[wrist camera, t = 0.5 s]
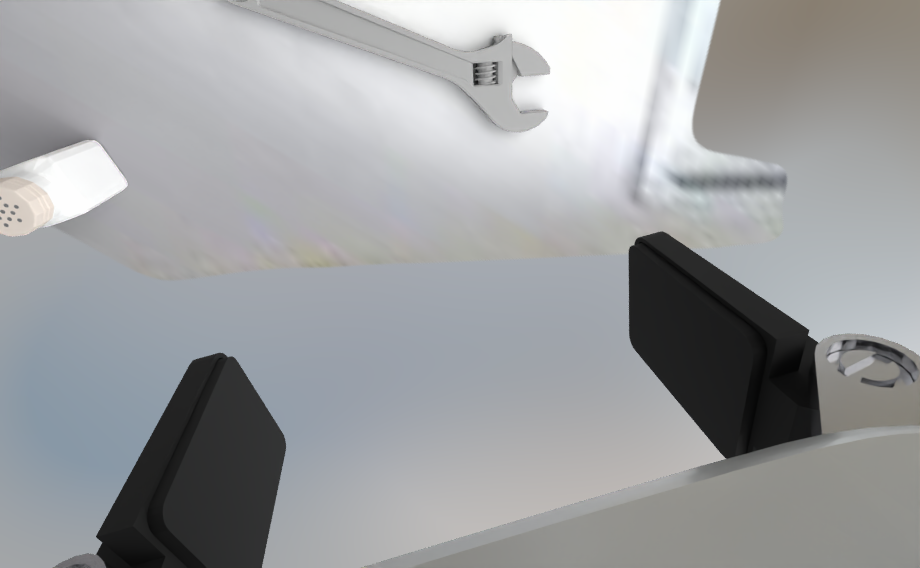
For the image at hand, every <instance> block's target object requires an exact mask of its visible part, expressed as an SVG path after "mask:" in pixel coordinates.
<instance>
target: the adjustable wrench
mask: <svg viewBox="0 0 920 568" xmlns="http://www.w3.org/2000/svg"><path fill="white" fill-rule="evenodd" d="M227 1H229V2H230V3H232V4H234V5H237V6H240V7H243V8H246V9H249V10H251V11H254V12H257V13H260V14H263V15H266V16H268V17H271V18H274V19H277V20H280V21H283V22H286V23H288V24H291V25H294V26H297V27H300V28H303V29H306V30H308V31H311V32H314V33H317V34H320V35H323V36H325V37H328V38H331V39H334V40H337V41H340V42H343V43H345V44H348V45H351V46H354V47H357V48H360V49H363V50H365V51H368V52H371V53H374V54H377V55H380V56H382V57H385V58H388V59H391V60H394V61H397V62H400V63H402V64H405V65H408V66H411V67H414V68H417V69H420V70H422V71H425V72H428V73H431V74H434V75H437V76H439V77H442V78H445V79H447V80H449V81H451V82H453V83H454V84H456V85H457V86H458V87H460V88H461V89H462V90H463V91H464V92H465V93H466V94H467V95H468V96H470V97H471V98H472V99H473V100H474V101H475V102H476V103H477V105H478V106H479V107H480V108H481V109H482V110H483V112H484V113H485V114H486V115H487V116H488V117H489V119H490V120H491V121H492V122H493V123H494V124H496V125H497V126H499V127H500V128H502V129H504V130H506V131H509V132H524V131H528V130H530V129H533V128H535V127H537V126H538V125H539V124H541V123H542V122H543V121H544V120H545V119H546V117H547V115H548V111H545V110H533V111H523V112H520V111H519V109H518V108H517V106H516V104H515V102H514V101H513V99H512V83H513V81H514V79H515V78H516V76H517V75H518V76H535V75H547V74H550V67H549V65H548V64H547V62H546V61H545V59H544V58H543V57H542V56H541V55H540V54H539V53H538V52H537V51H535V50H534V49H532V48H531V47H528V46H526V45H524V44H521V43H518V42H515V41H512V34H508V35H504V36H494V45H492V46H489V47H486V48H483V49H480V50H477V51H471V52H465V51H460V50H456V49H453V48H450V47H448V46H445V45H443V44H441V43H438V42H436V41H433V40H431V39H428V38H426V37H424V36H421V35H419V34H416V33H414V32H412V31H409V30H407V29H404V28H402V27H400V26H397V25H395V24H392V23H390V22H387V21H385V20H383V19H380V18H378V17H375V16H373V15H371V14H368V13H366V12H363V11H361V10H359V9H356V8H354V7H351V6H349V5H346V4H344V3H342V2H339V1H337V0H227ZM493 62H494V63H493ZM473 63H478V67H476V68H474V69H476V70H478V73H474V75H478V78H476V79H474V80H476V81H478V84H475V85H474V83H473ZM493 67H494V69H493ZM493 72H494V74H493ZM493 78H494V80H493Z"/></svg>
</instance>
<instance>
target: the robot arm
mask: <svg viewBox="0 0 920 568" xmlns="http://www.w3.org/2000/svg"><path fill="white" fill-rule="evenodd" d="M808 333H809V330H808V329H807V328H805V327H804V326H802V325H801V324H800V323H798V322H796V321H795V320H793V319H792V318H791V317H789V316H788V315H786V314H785V313H783V312H782V311H780V310H779V309H777V308H776V307H774V306H773V305H771V304H770V303H769V302H767V301H765V300H764V299H763V298H761V297H760V296H758V295H756V294H755V293H754V292H752V291H751V290H749V289H748V288H746V287H745V286H744V285H742V284H740V283H739V282H738V281H736V280H735V279H733V278H732V277H730V276H729V275H727V274H726V273H724V272H723V271H721V270H720V269H718V268H717V267H715V266H714V265H713V264H711V263H710V262H708V261H707V260H705V259H704V258H702V257H701V256H699V255H698V254H696V253H695V252H693V251H692V250H690V249H689V248H688V247H686V246H685V245H683V244H682V243H680V242H679V241H677V240H676V239H674V238H673V237H671V236H670V235H668V234H667V233H665V232H657V233H654V234H650V235H646V236H643V237H639V238H637V239H636V241H635V245H633V246H631V247H630V249H629V336H630V341H631V344H632V346H633V348H634V349H635V351H636V352H637V353H638V354H639V355H640V357H641V358H642V359H643V360H644V361H645V363H646V364H647V365H648V366H649V367H650V369H651V370H652V371H653V372H654V373H655V375H656V376H657V377H658V378H659V379H660V381H661V382H662V383H663V384H664V385H665V387H666V388H667V389H668V390H669V391H670V393H671V394H672V395H673V396H674V397H675V399H676V400H677V401H678V402H679V403H680V404H681V406H682V407H683V408H684V409H685V411H686V412H687V413H688V414H689V415H690V417H691V418H692V419H693V420H694V421H695V423H696V424H697V425H698V426H699V427H700V429H701V430H702V431H703V432H704V433H705V435H706V436H707V437H708V438H709V439H710V441H711V442H712V443H713V444H714V446H715V447H716V448H717V449H718V450H719V452H720V453H721V454H722V455H723V456H724V457H725V458H726V459H725V460H721V461H718V462H714V463H711V464H707V465H703V466H700V467H697V468H693V469H689V470H686V471H683V472H679V473H676V474H673V475H669V476H666V477H663V478H659V479H656V480H652V481H649V482H645V483H642V484H639V485H635V486H632V487H628V488H625V489H622V490H618V491H615V492H611V493H608V494H605V495H602V496H598V497H595V498H591V499H588V500H584V501H581V502H578V503H574V504H571V505H568V506H564V507H561V508H558V509H554V510H551V511H548V512H544V513H541V514H538V515H534V516H531V517H527V518H524V519H521V520H517V521H514V522H511V523H507V524H504V525H501V526H498V527H494V528H491V529H487V530H484V531H481V532H478V533H474V534H471V535H468V536H464V537H461V538H458V539H454V540H451V541H448V542H444V543H441V544H438V545H435V546H431V547H428V548H424V549H421V550H418V551H415V552H411V553H408V554H405V555H401V556H399V557H395V558H392V559H388V560H385V561H382V562H379V563H376V564H372V565H369V566H365V567H362V568H920V356H918V355H917V354H916V353H915V352H913V351H911V350H909V349H908V348H906V347H904V346H902V345H900V344H898V343H895V342H891V341H889V340H886V339H883V338H879V337H874V336H869V335H864V334H841V335H833V336H830V337H828V338H825V339H823V340H822V341H821V342H820V343H818V342H817V341H815V340H814V339H812V338H811V337H809V336H808ZM285 451H286V443H285V438H284V435H283V433H282V431H281V430H280V428H279V427H278V425H277V423H276V422H275V420H274V419H273V417H272V416H271V414H270V412H269V411H268V409H267V408H266V406H265V404H264V403H263V401H262V400H261V398H260V396H259V395H258V393H257V392H256V390H255V389H254V387H253V385H252V384H251V382H250V381H249V379H248V377H247V376H246V374H245V373H244V371H243V369H242V368H241V367H240V365H239V363H238V362H237V360H236V359H235V358H234V357H227V356H226V355H225V354H223V353H217V354H213V355H210V356H206V357H203V358H199V359H196V360H193V361H192V363H191V364H190V365H189V367H188V369H187V371H186V373H185V374H184V376H183V378H182V380H181V382H180V384H179V385H178V387H177V389H176V391H175V393H174V395H173V396H172V398H171V400H170V402H169V404H168V406H167V407H166V409H165V411H164V413H163V415H162V417H161V418H160V420H159V422H158V424H157V426H156V428H155V430H154V431H153V433H152V435H151V437H150V439H149V440H148V442H147V444H146V446H145V448H144V450H143V452H142V453H141V455H140V457H139V459H138V461H137V462H136V465H135V466H134V468H133V470H132V472H131V474H130V475H129V477H128V479H127V481H126V483H125V484H124V486H123V488H122V490H121V492H120V494H119V496H118V497H117V499H116V501H115V503H114V504H113V506H112V508H111V510H110V512H109V514H108V516H107V517H106V519H105V521H104V523H103V525H102V527H101V528H100V530H99V532H98V534H97V536H96V537H97V538H98V539H99V540H100V541H101V542H102V544H101V546H100V548H99V550H98V552H97V554H96V555H94V554H83V555H79V556H74V557H72V558H70V559H68V560H66V561H64V562H61V563H59V564H58V565H56V566H55V567H53V568H262V564H263V559H264V554H265V548H266V544H267V539H268V534H269V529H270V524H271V519H272V515H273V510H274V505H275V500H276V495H277V490H278V485H279V480H280V475H281V470H282V466H283V461H284V456H285Z"/></svg>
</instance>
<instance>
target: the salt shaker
mask: <svg viewBox="0 0 920 568" xmlns="http://www.w3.org/2000/svg"><path fill="white" fill-rule="evenodd" d="M127 185H128V183H127V180H126V179H125V177H124V176H123V174H122V173H121V172H120V170H119V169H118V168H117V166H116V165H115V164H114V162H113V161H112V159H111V158H110V157H109V155H108V154H107V153H106V151H105V150H104V148H103V147H102V146H101V145H100V144H99V143H98V142H97V141H95V140H85V141H82V142H79V143H76V144H73V145H70V146H67V147H65V148H62V149H59V150H56V151H53V152H50V153H47V154H44V155H42V156H39V157H36V158H33V159H30V160H28V161H25V162H22V163H19V164H17V165H14V166H11V167H8V168H6V169H3V170H0V234H3V235H6V236H9V237H12V236H23V235H27V234H29V233H30V232H32V231H34V230H36V229H38V228H39V227H49V226H52V225H55V224H58V223H61V222H64V221H66V220H69V219H72V218H74V217H77V216H79V215H82V214H84V213H87V212H88V211H90V210H91V209H93V208H95V207H96V206H98V205H100V204H101V203H103V202H105V201H106V200H108V199H110V198H111V197H113V196H115V195H116V194H118V193H120V192H121V191H123V190H124V189H125V188H126V187H127Z"/></svg>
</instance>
